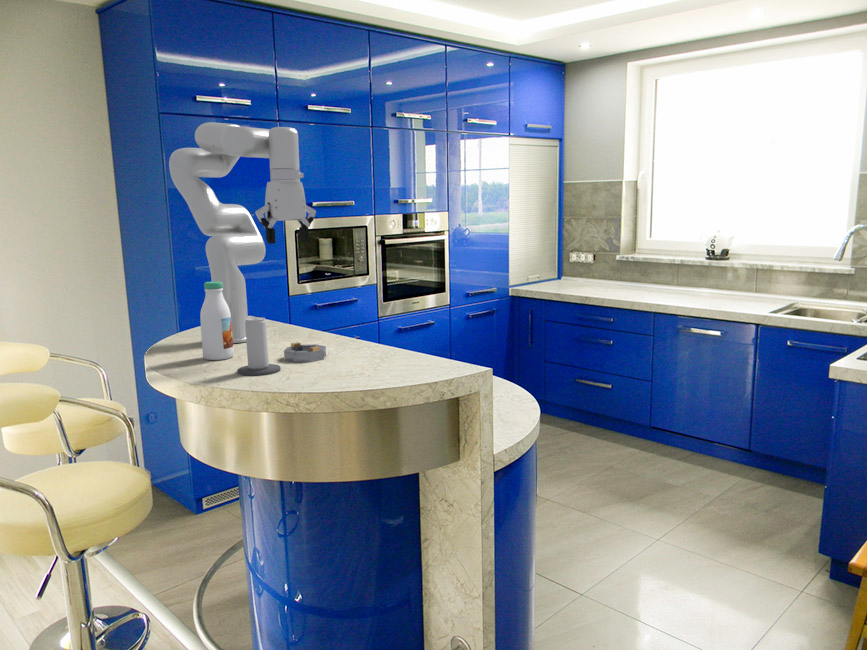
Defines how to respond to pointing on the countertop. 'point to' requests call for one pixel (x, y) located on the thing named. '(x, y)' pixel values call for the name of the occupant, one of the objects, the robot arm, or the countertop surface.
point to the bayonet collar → (304, 352)
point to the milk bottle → (216, 324)
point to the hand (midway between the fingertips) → (287, 242)
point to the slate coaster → (248, 372)
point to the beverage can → (256, 343)
